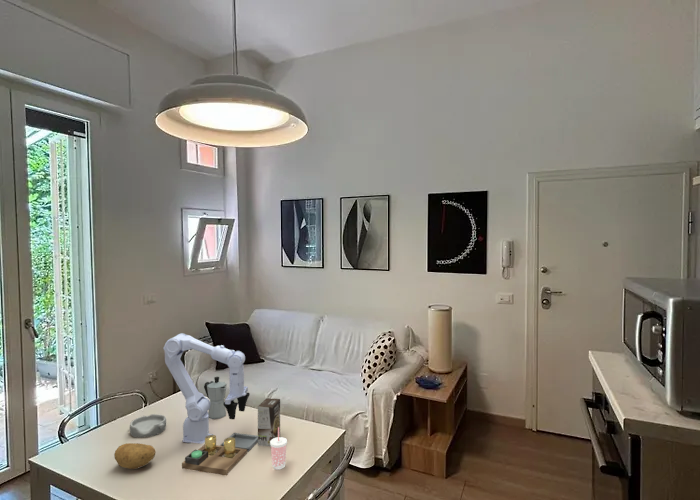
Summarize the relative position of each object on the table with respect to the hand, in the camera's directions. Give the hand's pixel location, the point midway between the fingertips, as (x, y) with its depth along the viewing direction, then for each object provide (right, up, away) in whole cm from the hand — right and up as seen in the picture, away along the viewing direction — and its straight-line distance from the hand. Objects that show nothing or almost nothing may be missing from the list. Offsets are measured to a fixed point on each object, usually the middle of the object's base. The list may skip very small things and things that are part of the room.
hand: (237, 414), depth 161 cm
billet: (+2, -10, -15) cm, 18 cm away
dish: (-40, -10, +7) cm, 42 cm away
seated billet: (-6, -10, -13) cm, 17 cm away
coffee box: (+14, -10, -2) cm, 17 cm away
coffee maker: (-17, -10, +23) cm, 30 cm away
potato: (-31, -11, -20) cm, 38 cm away
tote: (+3, -10, -5) cm, 11 cm away
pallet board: (-3, -10, -17) cm, 20 cm away
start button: (-9, -8, -19) cm, 23 cm away
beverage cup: (+21, -10, -20) cm, 30 cm away
